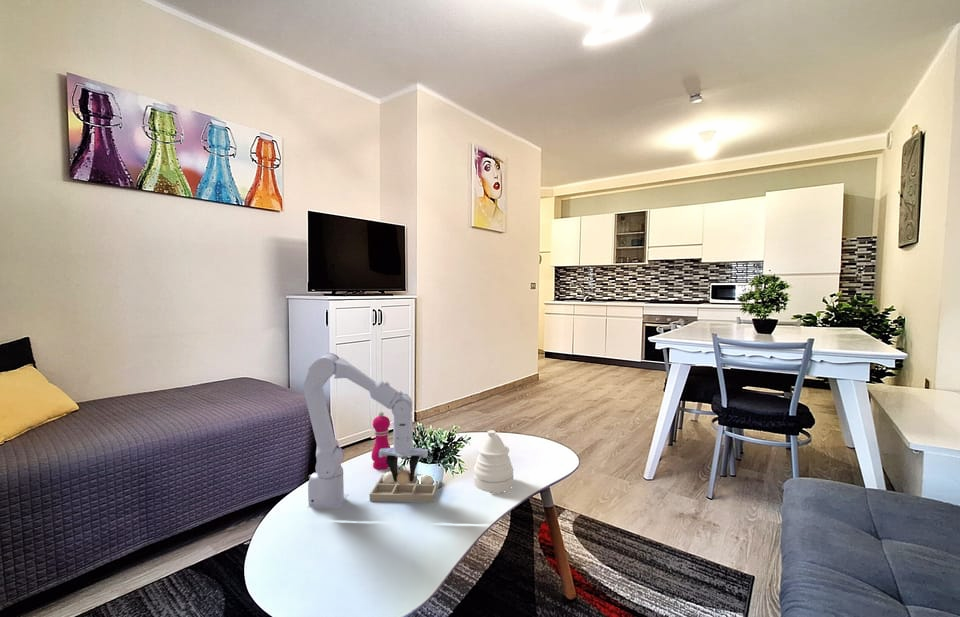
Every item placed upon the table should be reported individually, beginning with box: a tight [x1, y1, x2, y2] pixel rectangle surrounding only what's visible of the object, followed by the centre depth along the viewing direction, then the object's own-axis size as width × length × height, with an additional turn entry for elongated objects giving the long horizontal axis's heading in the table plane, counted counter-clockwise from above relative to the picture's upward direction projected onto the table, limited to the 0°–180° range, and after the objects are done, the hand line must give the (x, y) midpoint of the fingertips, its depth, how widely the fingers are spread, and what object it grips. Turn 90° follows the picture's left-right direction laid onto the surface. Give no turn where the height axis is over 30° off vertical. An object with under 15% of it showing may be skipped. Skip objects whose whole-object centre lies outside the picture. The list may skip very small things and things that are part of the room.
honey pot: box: [473, 429, 514, 494], centre depth 135 cm, size 13×13×18 cm
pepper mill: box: [370, 411, 391, 471], centre depth 148 cm, size 7×7×20 cm
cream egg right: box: [421, 474, 434, 485], centre depth 132 cm, size 4×4×4 cm
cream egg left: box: [383, 471, 396, 484], centre depth 133 cm, size 4×4×4 cm
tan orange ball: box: [396, 469, 410, 485], centre depth 126 cm, size 4×4×4 cm
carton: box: [369, 474, 439, 503], centre depth 130 cm, size 19×13×3 cm
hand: (403, 479), depth 126 cm, fingers closed on tan orange ball, 4 cm apart
